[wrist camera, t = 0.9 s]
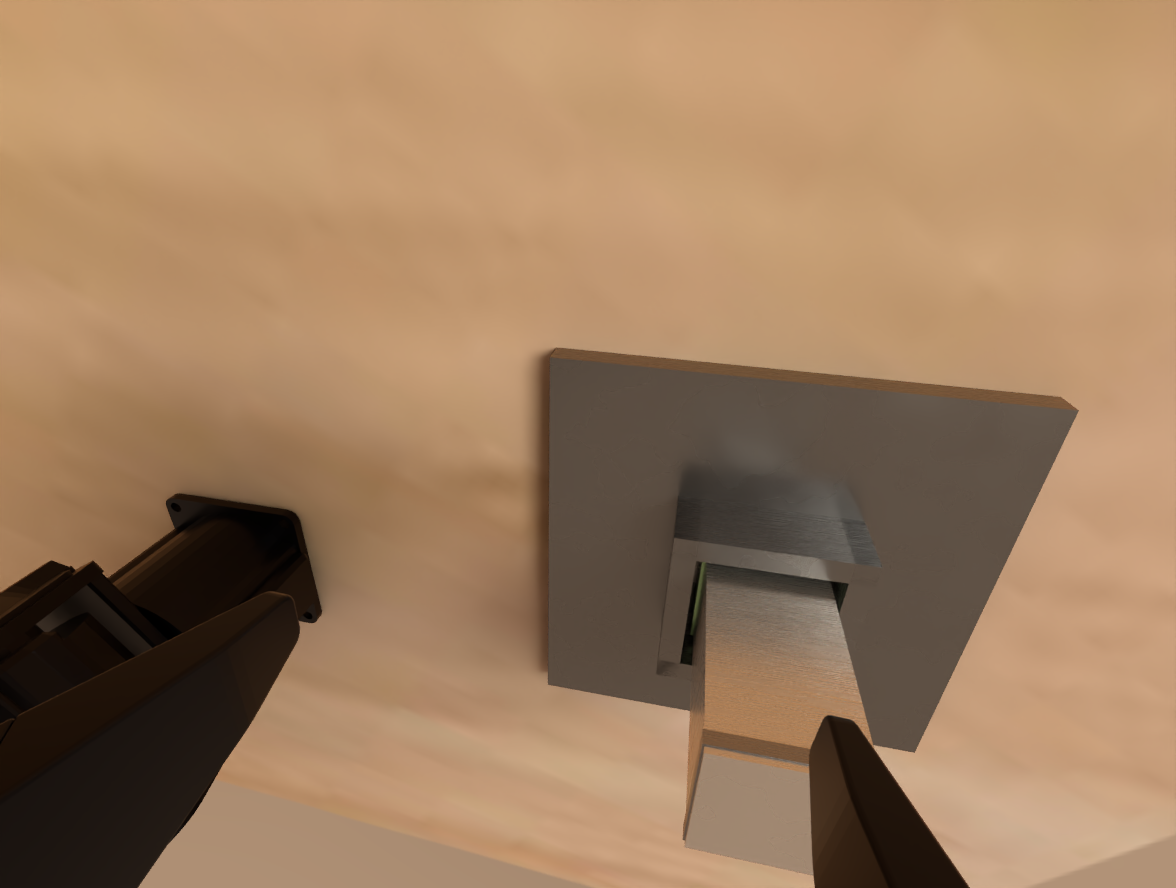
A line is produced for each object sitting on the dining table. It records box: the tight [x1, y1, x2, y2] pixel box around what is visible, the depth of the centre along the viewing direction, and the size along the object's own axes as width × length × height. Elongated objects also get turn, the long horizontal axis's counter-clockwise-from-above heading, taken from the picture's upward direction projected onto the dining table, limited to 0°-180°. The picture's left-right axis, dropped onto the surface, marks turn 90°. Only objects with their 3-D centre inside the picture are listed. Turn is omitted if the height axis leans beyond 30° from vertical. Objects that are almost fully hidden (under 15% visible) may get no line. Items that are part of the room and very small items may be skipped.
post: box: [683, 562, 874, 876], centre depth 18 cm, size 4×4×9 cm
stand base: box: [548, 348, 1079, 753], centre depth 21 cm, size 16×16×4 cm
